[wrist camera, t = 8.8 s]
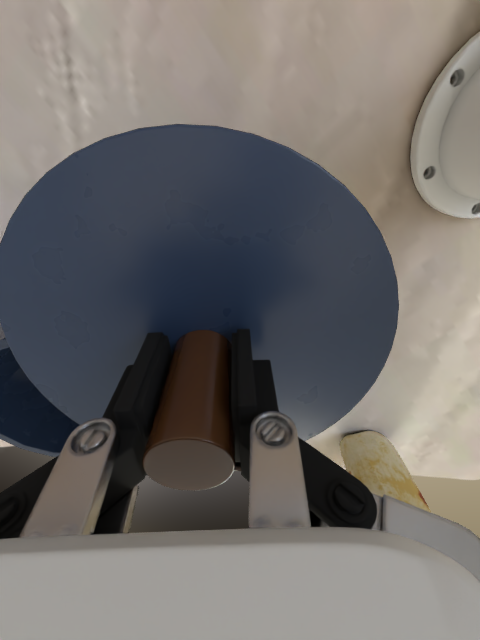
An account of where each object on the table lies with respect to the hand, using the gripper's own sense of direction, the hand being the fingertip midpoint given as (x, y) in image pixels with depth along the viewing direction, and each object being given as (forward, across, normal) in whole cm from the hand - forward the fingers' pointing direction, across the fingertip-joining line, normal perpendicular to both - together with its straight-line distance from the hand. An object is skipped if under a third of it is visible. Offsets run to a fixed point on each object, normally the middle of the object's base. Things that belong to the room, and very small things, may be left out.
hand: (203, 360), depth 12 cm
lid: (+1, 0, 0) cm, 1 cm away
